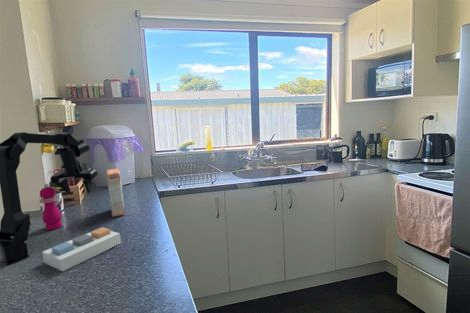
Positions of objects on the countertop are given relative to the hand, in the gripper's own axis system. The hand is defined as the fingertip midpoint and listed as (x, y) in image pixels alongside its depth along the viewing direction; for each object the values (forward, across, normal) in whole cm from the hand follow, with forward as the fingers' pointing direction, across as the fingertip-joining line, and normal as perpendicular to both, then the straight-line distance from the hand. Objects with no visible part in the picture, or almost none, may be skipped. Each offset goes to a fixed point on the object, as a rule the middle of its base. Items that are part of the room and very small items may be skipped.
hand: (79, 193), depth 135 cm
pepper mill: (+13, +12, +7) cm, 19 cm away
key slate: (+6, -13, +37) cm, 39 cm away
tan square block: (+8, -20, +25) cm, 33 cm away
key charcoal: (+7, -16, +31) cm, 36 cm away
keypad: (+9, -16, +31) cm, 36 cm away
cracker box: (+17, -10, -10) cm, 22 cm away
